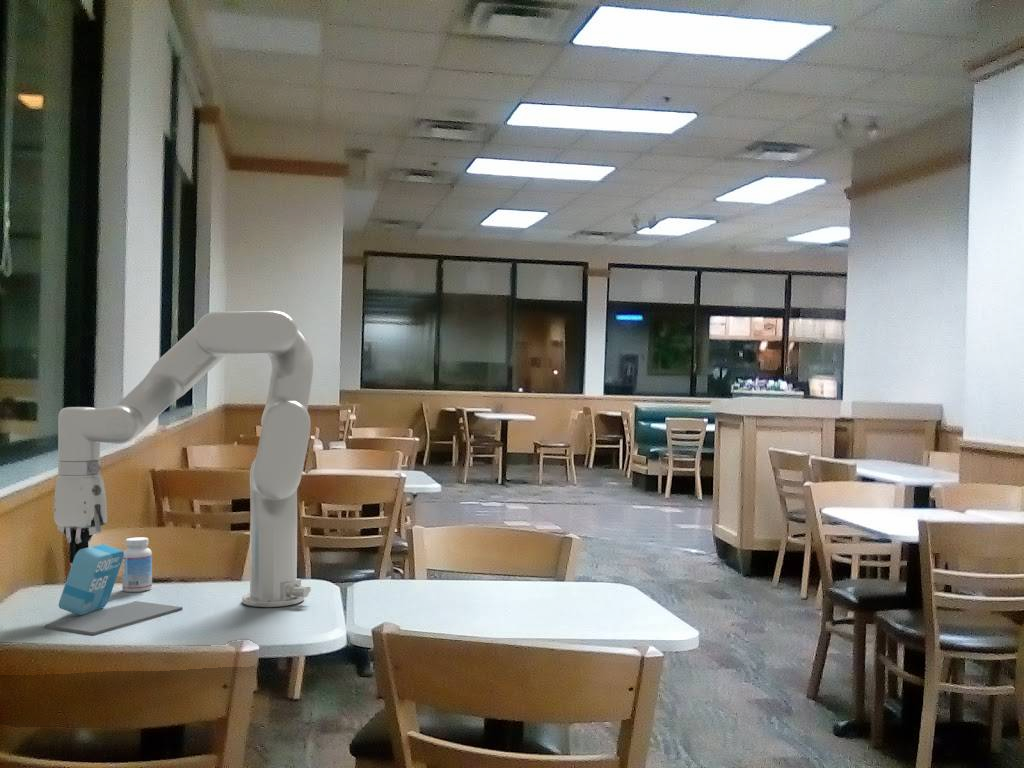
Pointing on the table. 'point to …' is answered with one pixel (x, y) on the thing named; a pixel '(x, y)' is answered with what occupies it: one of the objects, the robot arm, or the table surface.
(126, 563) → the pill bottle
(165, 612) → the mat
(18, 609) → the table surface
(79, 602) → the data package
